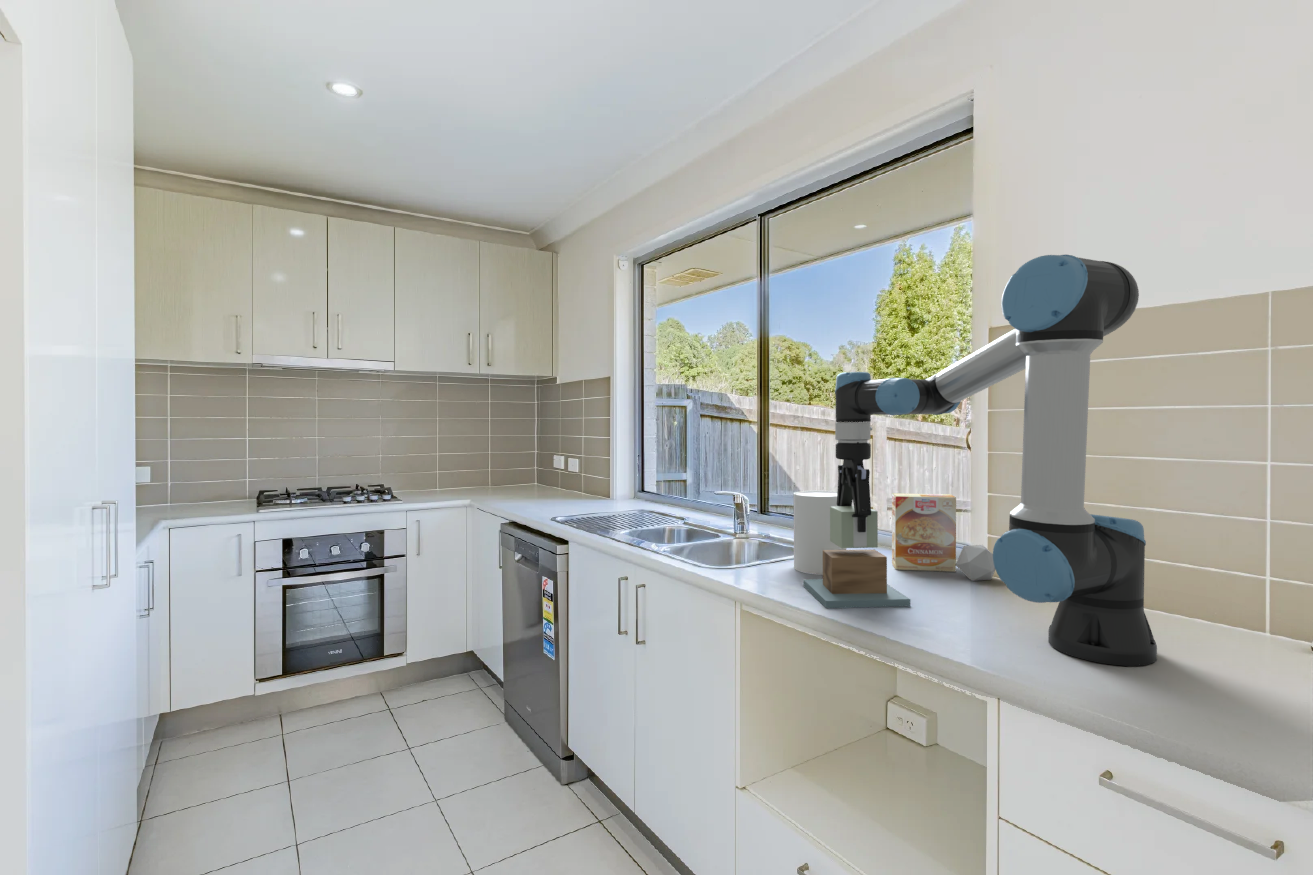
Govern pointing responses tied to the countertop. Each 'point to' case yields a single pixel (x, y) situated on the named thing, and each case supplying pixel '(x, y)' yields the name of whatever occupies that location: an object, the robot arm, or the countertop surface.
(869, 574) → the walnut block
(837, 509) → the sage block
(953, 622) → the countertop surface
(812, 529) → the canister
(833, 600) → the base board
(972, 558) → the die
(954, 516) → the coffeecake box
